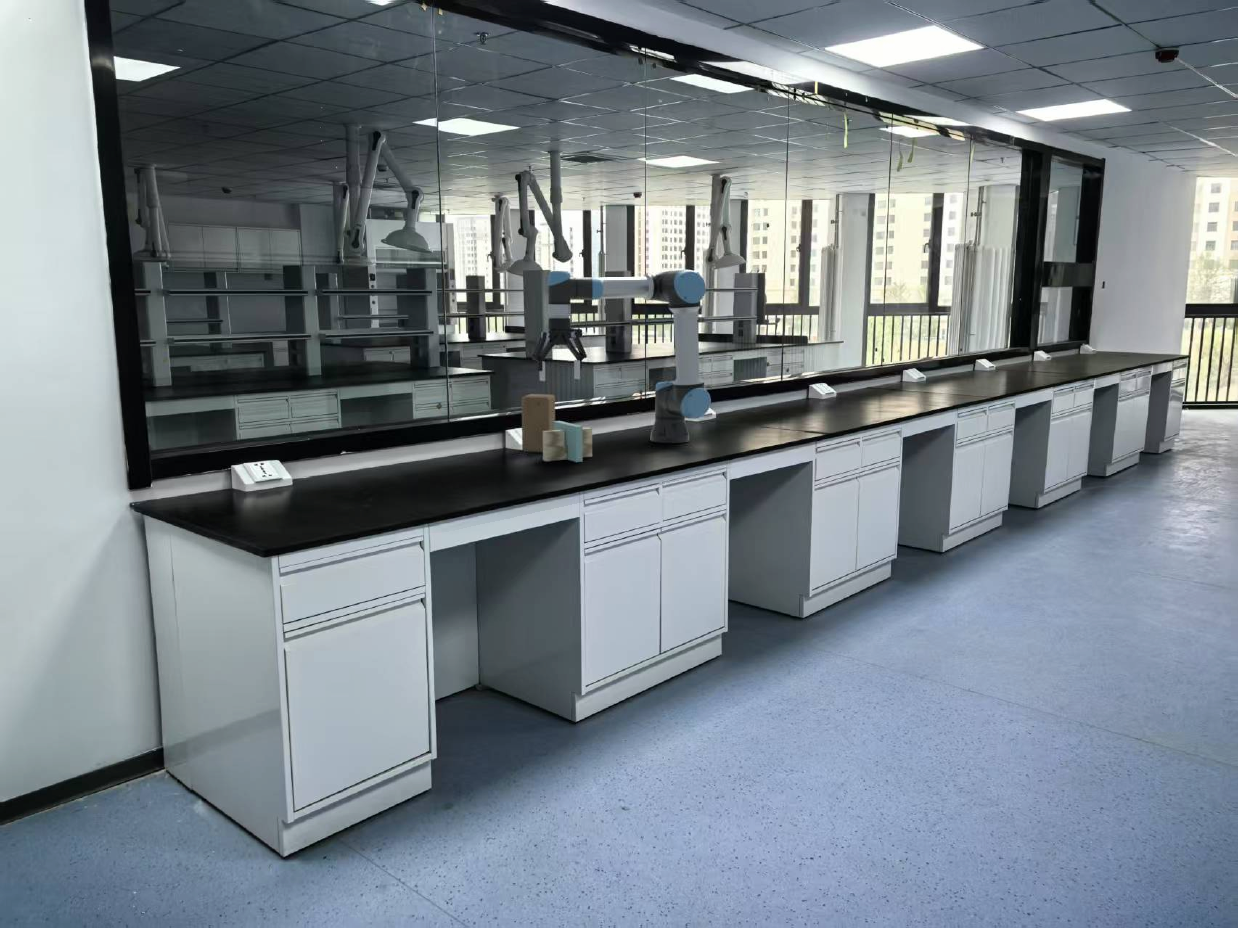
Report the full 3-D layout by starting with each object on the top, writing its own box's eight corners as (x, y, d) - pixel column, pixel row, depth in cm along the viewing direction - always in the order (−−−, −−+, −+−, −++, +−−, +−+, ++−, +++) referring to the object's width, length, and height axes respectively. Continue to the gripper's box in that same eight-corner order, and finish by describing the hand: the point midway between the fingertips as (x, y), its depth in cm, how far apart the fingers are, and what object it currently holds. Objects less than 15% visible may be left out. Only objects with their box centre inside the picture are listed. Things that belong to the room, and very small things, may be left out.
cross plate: (553, 455, 312) (553, 421, 310) (559, 454, 313) (559, 420, 311) (576, 462, 299) (576, 426, 297) (582, 461, 300) (582, 426, 298)
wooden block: (548, 453, 316) (547, 397, 313) (521, 452, 318) (520, 396, 315) (555, 448, 326) (555, 394, 322) (529, 447, 328) (529, 393, 324)
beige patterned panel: (588, 455, 312) (588, 427, 310) (592, 456, 310) (592, 428, 308) (543, 460, 302) (542, 431, 300) (546, 461, 300) (546, 431, 298)
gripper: (585, 317, 312) (585, 377, 316) (521, 317, 298) (522, 380, 302) (596, 317, 305) (596, 379, 309) (531, 317, 292) (532, 382, 296)
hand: (559, 380), depth 306 cm, fingers open, 13 cm apart
